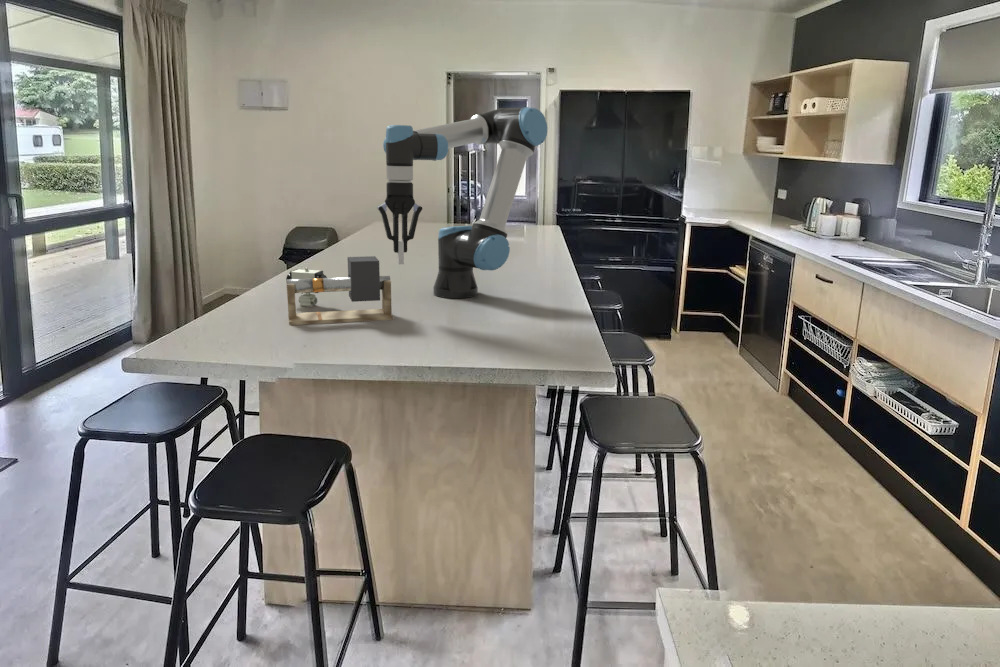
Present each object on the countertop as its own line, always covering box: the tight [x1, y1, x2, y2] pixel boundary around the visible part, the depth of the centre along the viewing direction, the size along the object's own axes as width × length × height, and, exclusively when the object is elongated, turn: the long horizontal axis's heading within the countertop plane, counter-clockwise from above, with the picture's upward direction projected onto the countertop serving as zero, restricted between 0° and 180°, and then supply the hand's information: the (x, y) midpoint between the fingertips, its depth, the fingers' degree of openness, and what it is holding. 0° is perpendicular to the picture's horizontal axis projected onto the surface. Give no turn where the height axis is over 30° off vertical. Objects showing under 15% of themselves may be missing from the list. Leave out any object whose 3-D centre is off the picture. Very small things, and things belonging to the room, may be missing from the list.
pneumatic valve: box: [285, 267, 328, 308], centre depth 222 cm, size 6×12×12 cm, turn 78°
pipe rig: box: [286, 279, 394, 326], centre depth 207 cm, size 29×10×11 cm, turn 107°
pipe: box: [285, 275, 391, 294], centre depth 205 cm, size 29×4×4 cm, turn 107°
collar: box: [347, 255, 381, 303], centre depth 207 cm, size 8×9×12 cm
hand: (400, 263), depth 209 cm, fingers closed
